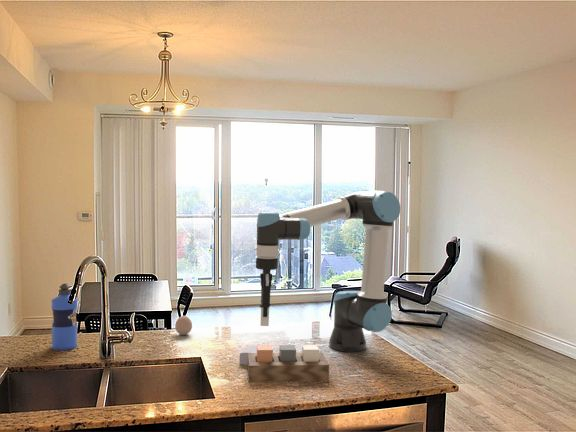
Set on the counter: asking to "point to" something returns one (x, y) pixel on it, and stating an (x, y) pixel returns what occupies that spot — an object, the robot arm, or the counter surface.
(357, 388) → the counter surface
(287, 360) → the key graphite
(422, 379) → the counter surface
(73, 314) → the water bottle
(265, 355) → the key terracotta
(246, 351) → the charger
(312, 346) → the key ivory
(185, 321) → the egg
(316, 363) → the console
